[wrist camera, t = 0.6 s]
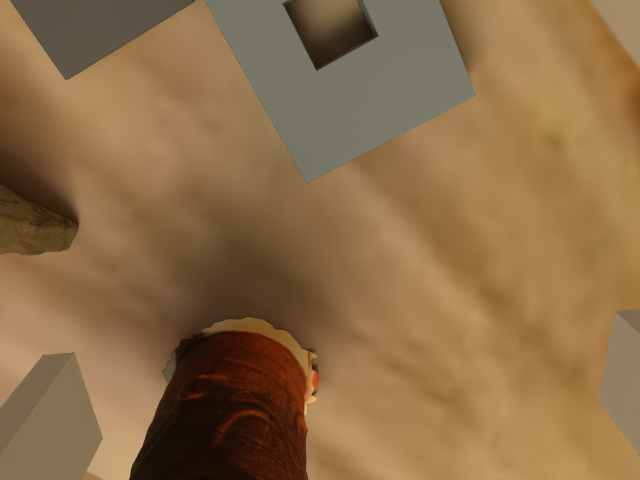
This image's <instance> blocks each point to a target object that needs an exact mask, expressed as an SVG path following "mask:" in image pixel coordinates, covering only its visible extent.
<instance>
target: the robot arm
mask: <svg viewBox="0 0 640 480" xmlns="http://www.w3.org/2000/svg"><path fill="white" fill-rule="evenodd" d="M598 401H599V403H600V404H601V405H602V407H603V408H604V409H605V411H606V412H607V413H608V414H609V416H610V417H611V418H612V420H613V421H614V422H615V424H616V425H617V426H618V427H619V429H620V430H621V431H622V433H623V434H624V435H625V437H626V438H627V439H628V440H629V442H630V443H631V444H632V446H633V447H634V448H635V450H636V451H637V452H638V453H639V455H640V309H634V310H621V311H615V313H614V318H613V324H612V329H611V334H610V340H609V345H608V350H607V355H606V361H605V366H604V371H603V377H602V382H601V387H600V392H599V398H598ZM102 439H103V436H102V434H101V431H100V428H99V425H98V422H97V419H96V416H95V413H94V410H93V407H92V404H91V401H90V398H89V395H88V392H87V389H86V386H85V383H84V380H83V377H82V374H81V371H80V368H79V365H78V362H77V359H76V356H75V353H63V354H50V355H43V356H42V357H41V358H40V360H39V361H38V362H37V363H36V365H35V366H34V367H33V368H32V369H31V371H30V372H29V373H28V374H27V376H26V377H25V378H24V379H23V381H22V382H21V383H20V384H19V386H18V387H17V388H16V389H15V390H14V392H13V393H12V394H11V395H10V397H9V398H8V399H7V400H6V402H5V403H4V404H3V405H2V407H1V408H0V480H82V479H83V477H84V474H85V473H86V471H87V469H88V467H89V465H90V463H91V461H92V459H93V457H94V455H95V453H96V451H97V449H98V447H99V445H100V443H101V441H102Z"/></svg>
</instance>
